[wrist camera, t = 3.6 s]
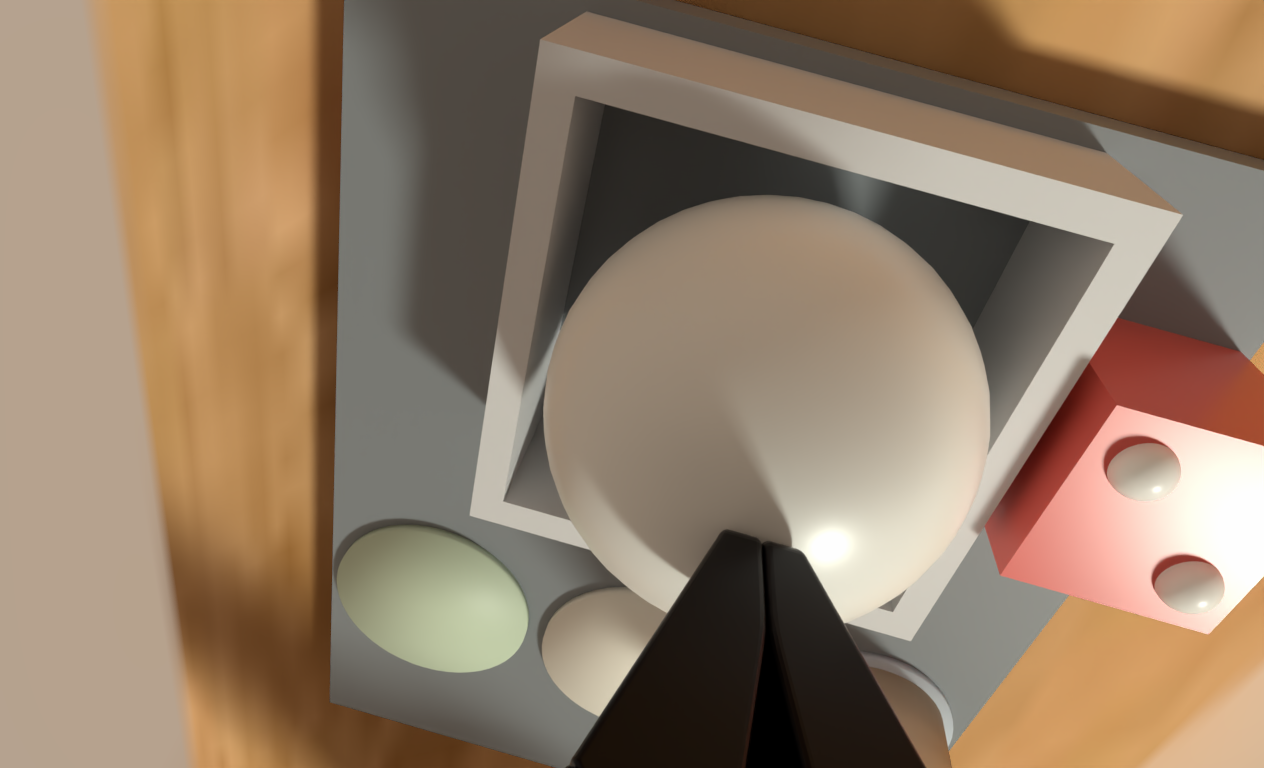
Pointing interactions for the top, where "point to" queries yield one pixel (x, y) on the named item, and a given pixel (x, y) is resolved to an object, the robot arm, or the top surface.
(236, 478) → the top surface
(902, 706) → the pawn
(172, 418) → the top surface
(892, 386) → the white ball
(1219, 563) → the red die
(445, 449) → the game board
